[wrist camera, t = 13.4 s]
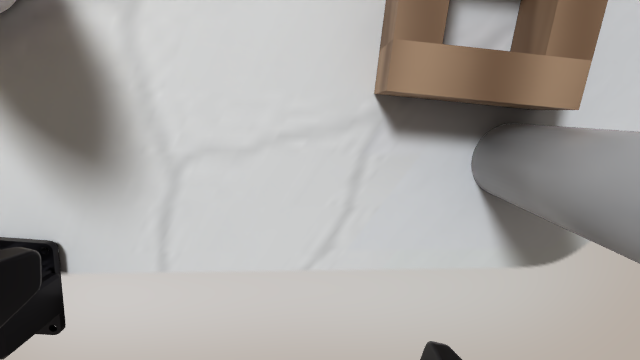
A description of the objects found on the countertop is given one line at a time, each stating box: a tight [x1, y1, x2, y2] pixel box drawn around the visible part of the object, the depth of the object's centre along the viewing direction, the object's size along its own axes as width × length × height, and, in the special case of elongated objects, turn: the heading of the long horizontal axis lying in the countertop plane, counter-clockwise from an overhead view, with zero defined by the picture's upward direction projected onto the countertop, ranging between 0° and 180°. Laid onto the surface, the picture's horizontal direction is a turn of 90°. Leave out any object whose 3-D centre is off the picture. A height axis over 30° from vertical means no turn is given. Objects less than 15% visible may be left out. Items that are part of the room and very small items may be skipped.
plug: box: [471, 123, 640, 263], centre depth 13 cm, size 5×5×14 cm
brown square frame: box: [374, 0, 608, 110], centre depth 16 cm, size 10×10×3 cm
